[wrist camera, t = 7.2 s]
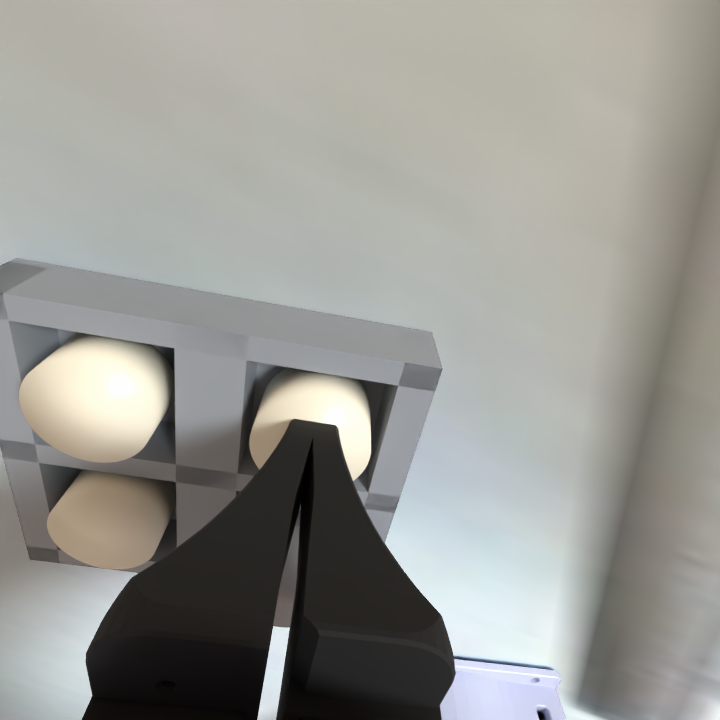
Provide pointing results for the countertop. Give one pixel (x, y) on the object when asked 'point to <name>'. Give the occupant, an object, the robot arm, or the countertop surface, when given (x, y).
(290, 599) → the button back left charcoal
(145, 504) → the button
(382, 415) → the button board
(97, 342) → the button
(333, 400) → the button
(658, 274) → the countertop surface
